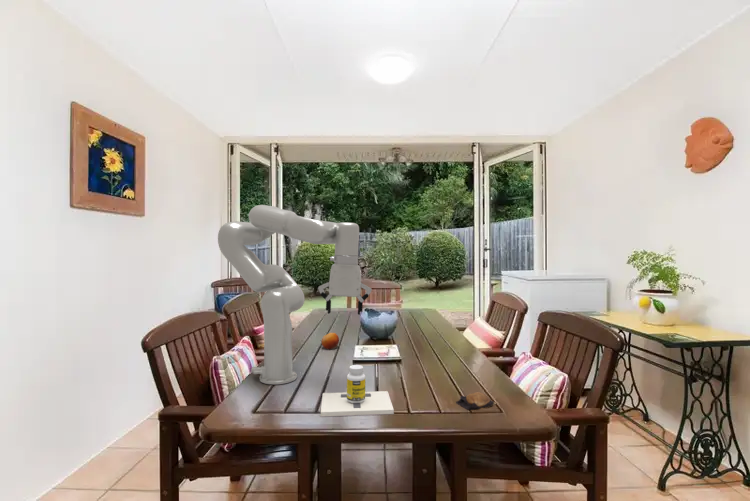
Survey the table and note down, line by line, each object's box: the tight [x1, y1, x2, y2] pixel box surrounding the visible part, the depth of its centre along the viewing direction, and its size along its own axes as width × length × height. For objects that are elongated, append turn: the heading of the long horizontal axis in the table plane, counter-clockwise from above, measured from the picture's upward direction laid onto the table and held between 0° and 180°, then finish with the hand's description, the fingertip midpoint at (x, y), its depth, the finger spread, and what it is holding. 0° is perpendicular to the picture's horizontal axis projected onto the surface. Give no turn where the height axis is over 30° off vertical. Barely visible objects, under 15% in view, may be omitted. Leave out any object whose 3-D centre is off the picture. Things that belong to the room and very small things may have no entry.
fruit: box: [320, 332, 340, 350], centre depth 181 cm, size 8×8×8 cm
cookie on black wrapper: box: [455, 391, 497, 412], centre depth 118 cm, size 11×8×4 cm
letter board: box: [320, 390, 395, 418], centre depth 117 cm, size 20×14×1 cm
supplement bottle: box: [346, 364, 366, 403], centre depth 117 cm, size 5×5×10 cm
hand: (344, 313), depth 130 cm, fingers open, 9 cm apart
